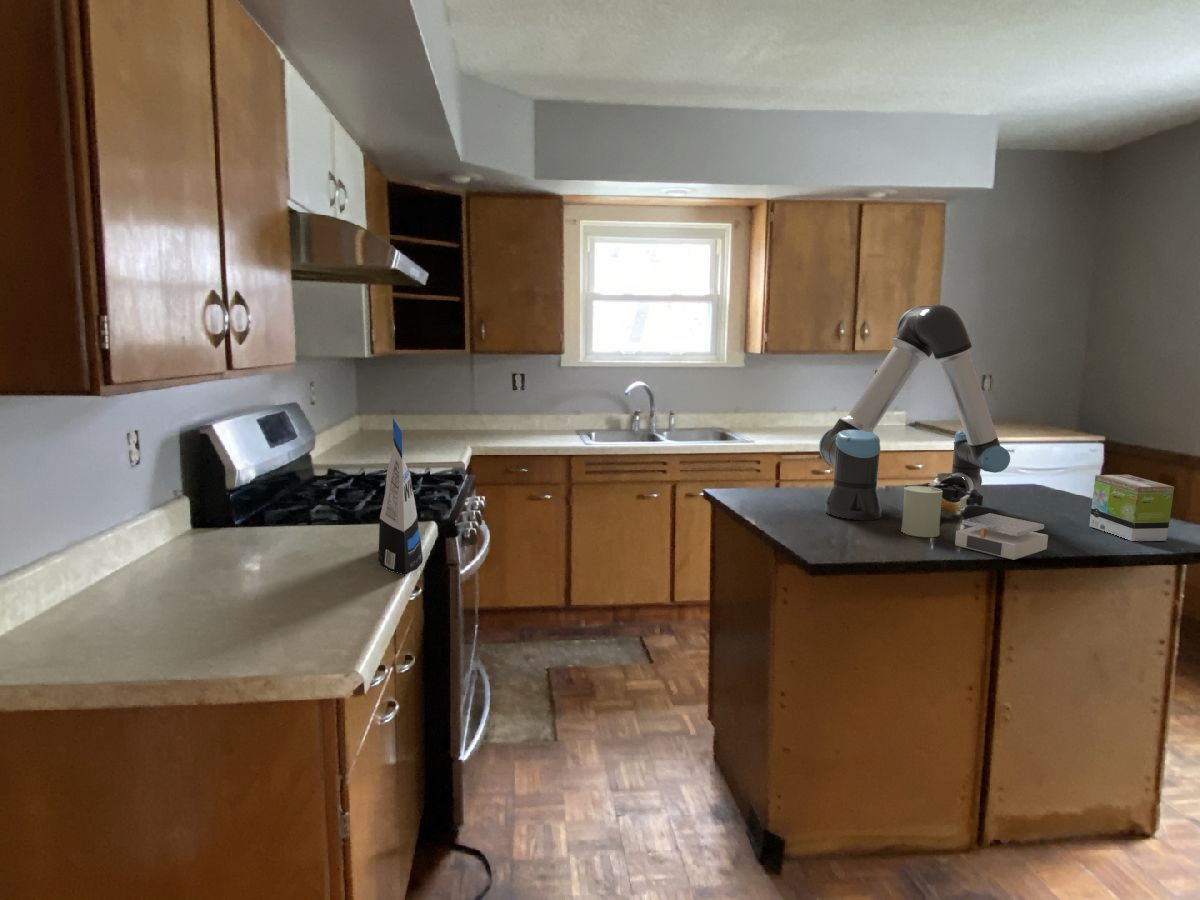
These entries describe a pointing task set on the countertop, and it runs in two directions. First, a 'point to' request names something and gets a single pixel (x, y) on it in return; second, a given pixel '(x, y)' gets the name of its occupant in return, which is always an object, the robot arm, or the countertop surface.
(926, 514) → the can
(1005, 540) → the scale
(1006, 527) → the scale pan
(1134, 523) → the tea box
